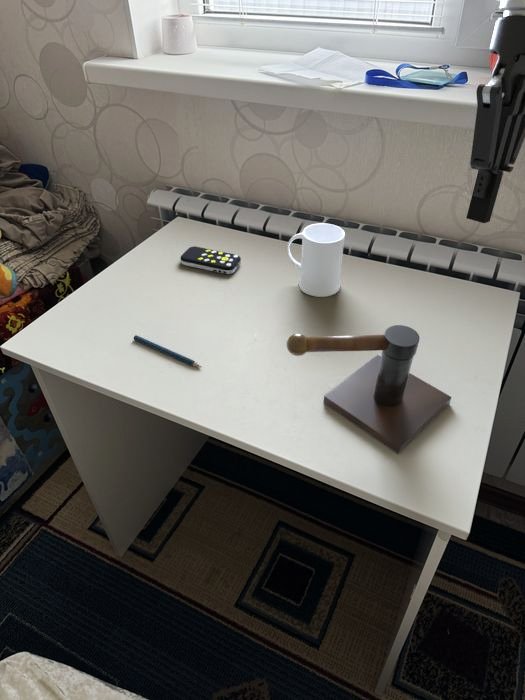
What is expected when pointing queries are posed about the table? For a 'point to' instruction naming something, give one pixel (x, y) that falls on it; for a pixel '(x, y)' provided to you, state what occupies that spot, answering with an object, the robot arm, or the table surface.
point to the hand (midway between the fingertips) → (477, 219)
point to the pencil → (166, 351)
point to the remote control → (210, 260)
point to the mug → (320, 259)
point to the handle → (359, 343)
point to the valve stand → (387, 401)
